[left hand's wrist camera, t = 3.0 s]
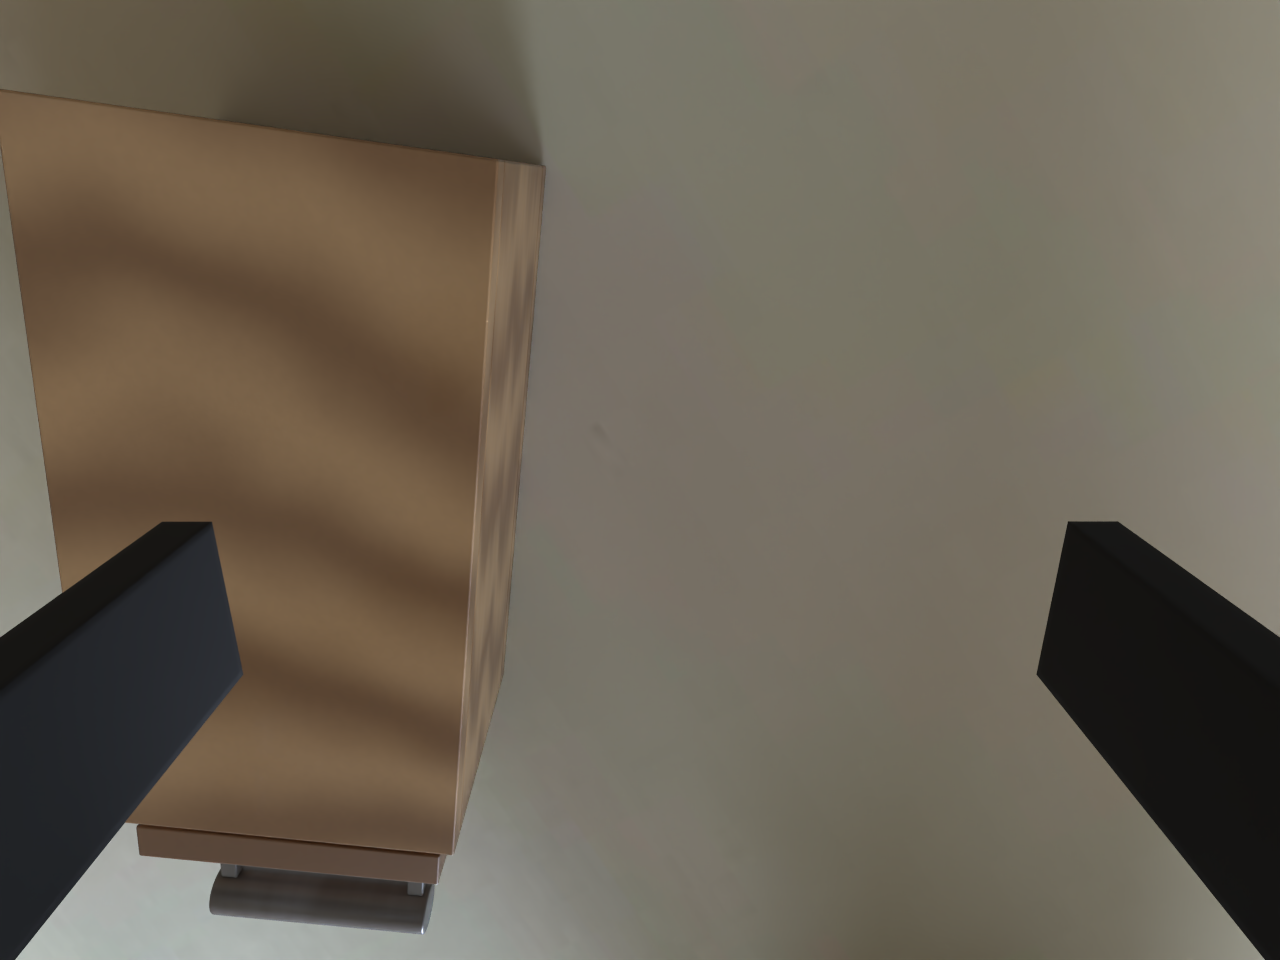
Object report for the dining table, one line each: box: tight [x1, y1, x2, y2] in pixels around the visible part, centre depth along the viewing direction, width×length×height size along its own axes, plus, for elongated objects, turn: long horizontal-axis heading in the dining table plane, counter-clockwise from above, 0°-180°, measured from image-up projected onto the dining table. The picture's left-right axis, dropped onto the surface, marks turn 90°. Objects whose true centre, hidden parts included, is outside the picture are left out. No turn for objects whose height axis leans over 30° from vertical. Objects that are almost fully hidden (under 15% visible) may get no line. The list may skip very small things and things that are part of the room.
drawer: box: [137, 824, 446, 934], centre depth 27 cm, size 24×10×8 cm, turn 172°
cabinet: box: [0, 89, 546, 855], centre depth 25 cm, size 20×11×10 cm, turn 173°
